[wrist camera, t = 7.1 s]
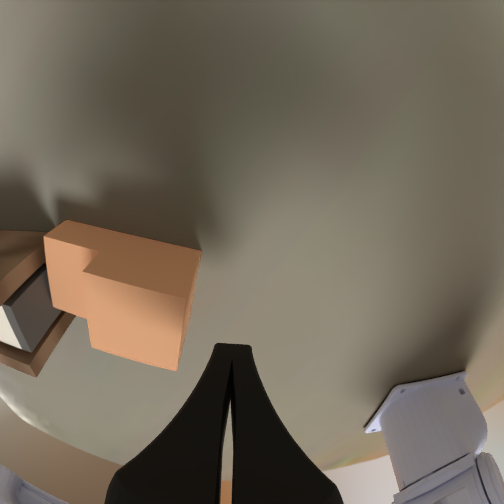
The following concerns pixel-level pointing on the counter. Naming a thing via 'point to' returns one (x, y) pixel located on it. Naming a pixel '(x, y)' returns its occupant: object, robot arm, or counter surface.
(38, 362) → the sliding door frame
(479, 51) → the counter surface
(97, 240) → the peach two-level step
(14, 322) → the sliding door
